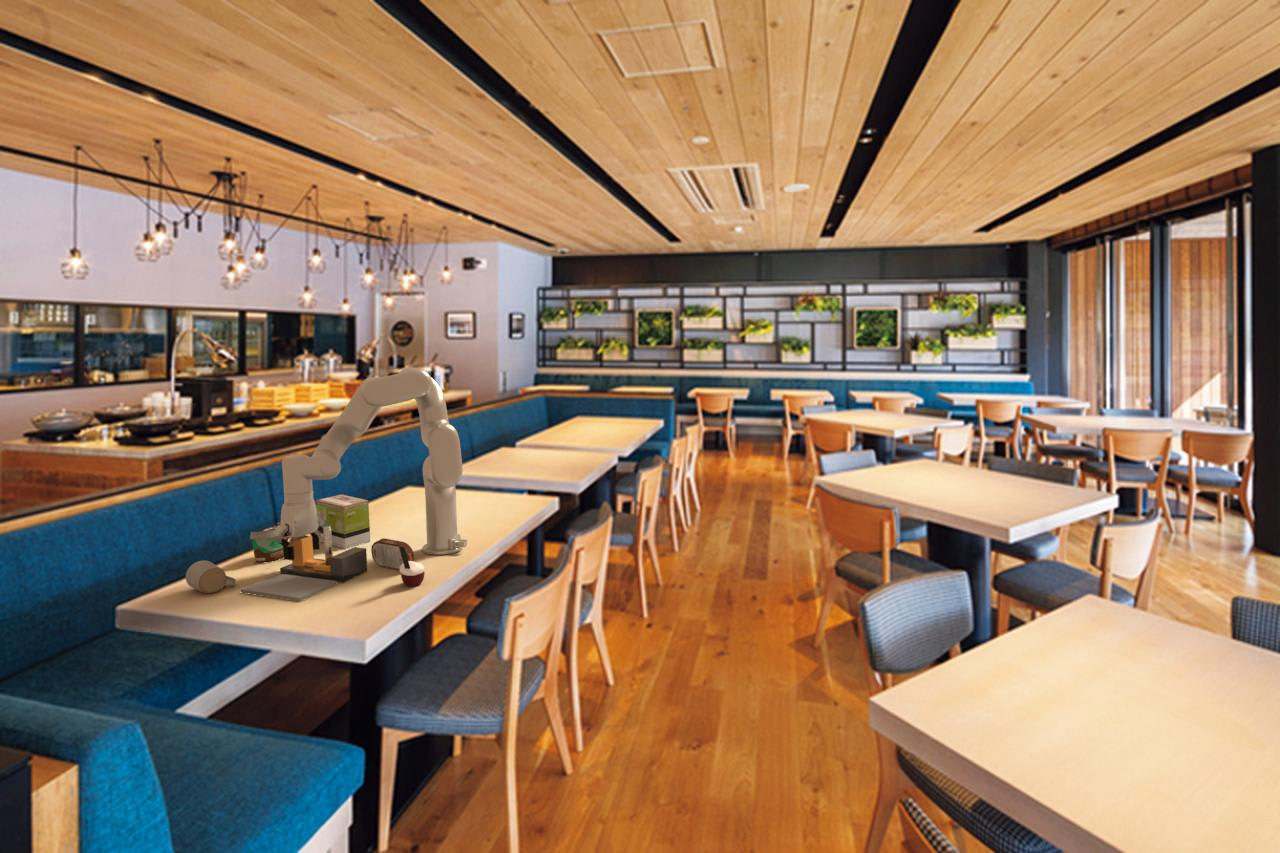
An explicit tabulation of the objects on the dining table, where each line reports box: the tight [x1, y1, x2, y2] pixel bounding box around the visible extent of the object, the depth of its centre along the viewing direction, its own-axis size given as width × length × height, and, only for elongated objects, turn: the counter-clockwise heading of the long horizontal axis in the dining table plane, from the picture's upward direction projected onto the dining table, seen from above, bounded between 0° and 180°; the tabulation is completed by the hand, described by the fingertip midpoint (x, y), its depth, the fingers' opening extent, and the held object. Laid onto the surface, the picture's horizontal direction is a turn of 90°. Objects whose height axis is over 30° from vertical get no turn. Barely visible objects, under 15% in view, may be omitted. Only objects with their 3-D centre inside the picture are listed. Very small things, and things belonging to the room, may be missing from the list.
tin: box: [370, 538, 415, 571], centre depth 202 cm, size 15×3×8 cm, turn 65°
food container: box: [249, 521, 284, 564], centre depth 210 cm, size 12×6×10 cm, turn 168°
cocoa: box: [399, 547, 426, 587], centre depth 189 cm, size 10×6×12 cm, turn 146°
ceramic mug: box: [185, 560, 237, 594], centre depth 185 cm, size 11×8×8 cm
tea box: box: [315, 493, 371, 550], centre depth 228 cm, size 15×10×15 cm, turn 58°
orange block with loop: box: [291, 535, 331, 572], centre depth 198 cm, size 14×6×8 cm, turn 73°
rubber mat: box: [239, 573, 337, 602], centre depth 186 cm, size 20×13×1 cm, turn 73°
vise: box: [279, 526, 368, 584], centre depth 197 cm, size 22×10×14 cm, turn 73°
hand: (302, 554), depth 200 cm, fingers open, 9 cm apart
